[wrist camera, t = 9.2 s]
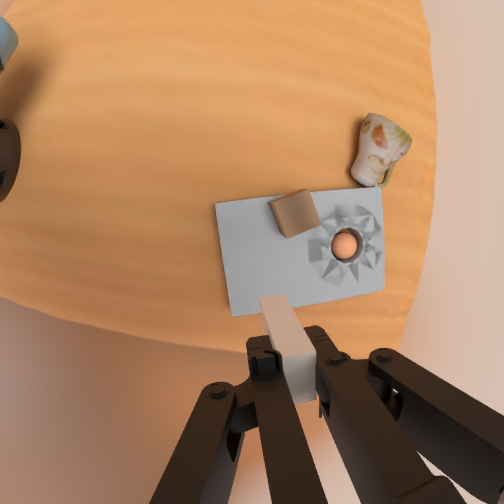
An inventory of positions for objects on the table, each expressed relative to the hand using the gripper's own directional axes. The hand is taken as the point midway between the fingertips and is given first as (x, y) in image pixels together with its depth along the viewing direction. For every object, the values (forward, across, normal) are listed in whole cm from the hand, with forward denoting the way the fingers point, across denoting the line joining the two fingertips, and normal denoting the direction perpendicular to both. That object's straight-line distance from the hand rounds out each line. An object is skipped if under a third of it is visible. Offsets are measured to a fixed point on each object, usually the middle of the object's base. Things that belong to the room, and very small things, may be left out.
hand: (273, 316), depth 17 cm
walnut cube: (+17, +5, +4) cm, 18 cm away
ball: (+18, +12, -1) cm, 22 cm away
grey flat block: (+20, +7, -1) cm, 21 cm away
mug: (+21, +19, +11) cm, 30 cm away
